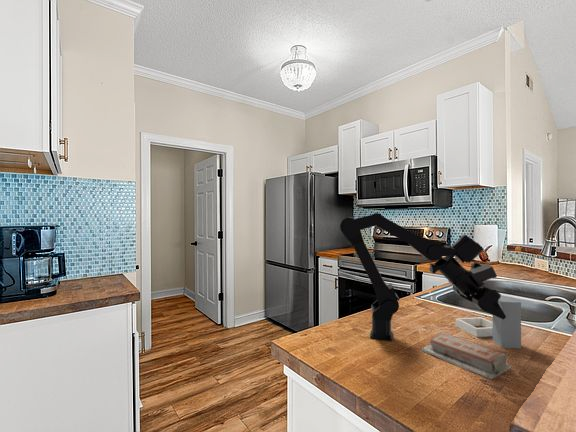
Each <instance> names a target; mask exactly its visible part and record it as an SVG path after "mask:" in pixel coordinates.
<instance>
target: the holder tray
mask: <svg viewBox="0 0 576 432" xmlns="http://www.w3.org/2000/svg"><path fill="white" fill-rule="evenodd" d="M478 326H479V327H478ZM480 326H481V327H480ZM455 327H457V328H458V329H461V330H463V331H464V332H465V333H466V332H467V333H468V334H470V335H472V336H473V337H476V338H483V337H484V338H485V337H493V321H491V320H488V319H487V318H484V317H479V316H478V317H461V318H455Z"/></svg>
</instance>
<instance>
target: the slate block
mask: <svg viewBox="0 0 576 432" xmlns="http://www.w3.org/2000/svg"><path fill="white" fill-rule="evenodd" d="M498 303H499V305H500V307H501V309H502V311H503V312H504V314H505V316H506V318H505V319H501V318H499V317H497V316H495V315H492V322H493V336H492V341H493V342H494V343H495V344H496V345H498V346H499V347H500V348H506V349H522V302H521V301H519V300H517V299H515V298H512V297H502V296H501V297H500V299H499V300H498Z"/></svg>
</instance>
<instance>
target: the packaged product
mask: <svg viewBox="0 0 576 432" xmlns="http://www.w3.org/2000/svg"><path fill="white" fill-rule="evenodd" d="M429 342H430V344H428V345H425V346H423V347H421V351H422V352H423V353H426V354H427V355H431V356H434V357H436V358H438V359H440V360H443V361H445V362H447V363H450V364H453V365H454V366H457V367H458V368H462V369H464V370H467V371H469V372H470V373H471V372H472V373H475V374H477V375H479V376H482V377H484V378H486V379H489V380H494V379H496V378H497V377H499V376H501V375H502V374H504V373H506V372H507V371H509V370H510V369H511V366H510V363H509V362H507V354H506V353H503V352H501V351H498V350H496V349H492V348H489V347H486V346H484V345H482V344H478V343H475V342H472V341H469V340H466V339H464V338H460V337H458V336H454V335H452V334H448V333H445V332H437V333H436V335H434V336H432V337H431V339H430V341H429Z"/></svg>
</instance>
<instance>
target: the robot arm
mask: <svg viewBox="0 0 576 432" xmlns="http://www.w3.org/2000/svg"><path fill="white" fill-rule="evenodd" d="M372 227H378V228H380V229H381V230H383V231H385V232H386V233H388V234H390V235H392V236H394V237H396V238H397V239H398V240H400V241H403V242H404V243H406V244H408V245H409V246H410V247H411V248H412V249H414V251H416V252H418V253H419V254H420V255H421V256H422V257H424V258H426V260H428V261H431V262H430V263H429V271H430V272H431V274H436V273H437V272H439V273H440V274H442V276H444V278H446V280H448V283H450V284H451V285H452V290H453V291H454V292H455V293H456V294H457V295H458V296H460V297H461V298H462V299H465V300H467V301H468V302H471V303H473V304H474V305H475V306H476V307H477V308H478V309H479V310H482V311H483V312H485V313H488V314H491V315H492V316H493V315H495V316H497V317H499V318H501V319H505V318H506V316H505V314H504V312H503V311H502V309H501V307H500V305H499V303H498V300H499V299H500V297H502V294H501V293H500V292H498V290H496V289H495V288H492V287H490V286H484V285H485V283H484V282H486V281H488V280H491V279H495V278H497V277H498V274H497V273H496V271H495V269H494V267H493V265H490V264H488V263H485V264H484V263H482V264H480V263H479V262H477V261H476V262H473V261H474V259H476V258H477V257H479V256H480V255H481V254H482V253H483V252H484V250H485V249H484V247H483V246H481V244H480V243H479V242H477V241H475V240H474V239H473V238H471V237H469V236H468V235H467V234H462V235H461V236H460V237H459V238H458V240H456V241H455V242H453V244H451V246H450V245H447V244H445V245H442V244H441V243H440V242H438V241H435V240H433V239H430V238H427V237H424V236H421V235H418V234H415V233H414V232H413V231H410V230H408V229H407V228H405V227H403V226H401V225H400V224H397V223H396V222H395V221H392V220H390V219H388V218H387V217H384V216H383V215H382V214H381V213H378V212H375V213H372V214H369V215H366V216H361V217H357V218H354V217H350V216H349V217H345V218H344V219H342V221H341V222H340V224H339V228H340V231H341V233H342V234H343V235H344V237H345V238H346V239H347V241H348V242H349V244H351V246H352V247H353V249H354V250H355V252H356V255H357V256H358V259H359V261H360V262H361V265H362V267H363V269H364V270H365V272H366V274H367V276H368V278H369V281H370V283H371V284H372V287H373V289H374V293H375V297H376V300H375V301H374V302H373V303H372V304H371V313H372V314H371V329H370V335H369V338H370V339H377V340H383V341H393V334H394V333H393V331H392V318H393V316H394V314H395V313H397V312H398V310H399V308H400V303H399V301H400V297H399V296H398V294H397V293H396V292H395V288H394V286H393V284H392V283H390V284H387V283H386V282H385V280H384V279H383V277H382V274H381V273H380V271H379V269H378V267H377V264H376V263H375V261H374V259H373V258H372V255H371V253H370V251H369V249H368V247H367V246H366V243H365V241H364V239H363V238H364V237H363V235H362V231H361V230H365V229H369V228H372ZM454 257H455V258H456V259H455V258H454ZM458 261H459V262H458ZM471 262H473V263H471ZM460 263H461V264H460ZM464 263H466V264H470V263H471V264H470V265H471V266H470V269H469V270H468V269H466V268H465V267H463V265H462V264H464ZM481 287H482V288H481Z"/></svg>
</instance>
